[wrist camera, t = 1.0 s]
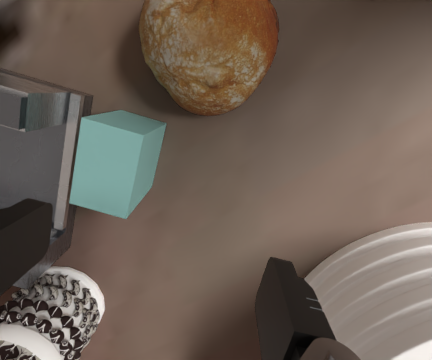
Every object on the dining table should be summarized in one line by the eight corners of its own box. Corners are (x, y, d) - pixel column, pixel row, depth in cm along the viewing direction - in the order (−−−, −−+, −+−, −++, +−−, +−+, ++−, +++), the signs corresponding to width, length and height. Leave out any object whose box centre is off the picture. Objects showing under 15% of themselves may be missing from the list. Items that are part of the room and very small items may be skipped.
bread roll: (149, 34, 26) (90, 54, 20) (222, -83, 20) (166, -105, 14) (226, 114, 28) (191, 155, 22) (315, 30, 22) (301, 55, 16)
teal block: (121, 109, 25) (81, 117, 18) (166, 123, 25) (143, 135, 18) (109, 174, 27) (69, 203, 20) (151, 186, 27) (126, 219, 20)
